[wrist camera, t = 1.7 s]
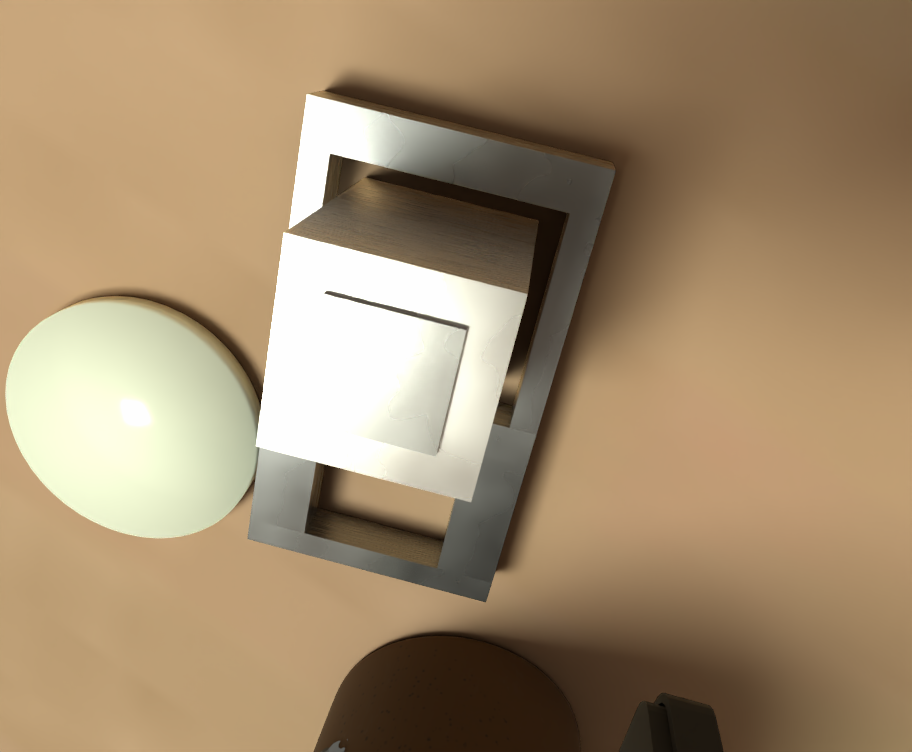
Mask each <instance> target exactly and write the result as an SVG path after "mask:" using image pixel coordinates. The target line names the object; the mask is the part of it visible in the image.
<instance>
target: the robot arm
mask: <svg viewBox="0 0 912 752" xmlns="http://www.w3.org/2000/svg"><path fill="white" fill-rule="evenodd" d="M619 752H723V747H722V743H721V738H720V734H719V730H718V725H717V721H716V717H715V714H714V711H713V709H712V708H711V707H710V706H709V705H706V704H702V703H699V702H695V701H691V700H688V699H684V698H680V697H677V696H673V695H669V694H666V693H661V694H660V695H659V696H658V697H657V699H656V701H655V703H654V704H653V703H649V702H646V701H642V702H641V703H640V704H639V706H638V708H637V710H636V712H635V715H634V717H633V720H632V722H631V724H630V727H629V729H628V731H627V734H626V736H625V739H624V741H623V743H622V746H621V748H620V750H619Z"/></svg>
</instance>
